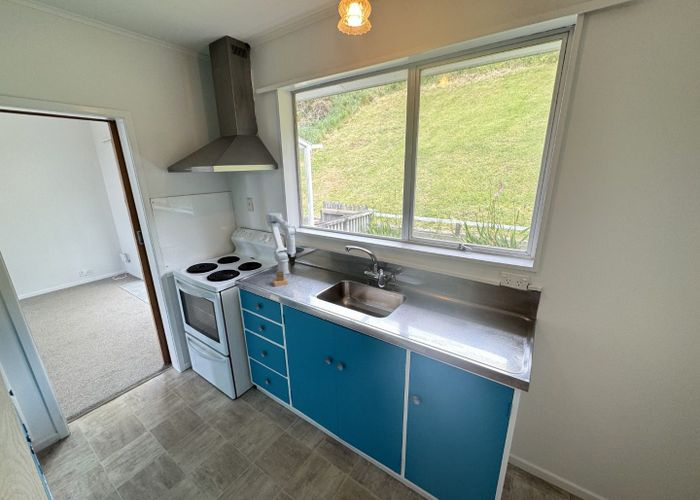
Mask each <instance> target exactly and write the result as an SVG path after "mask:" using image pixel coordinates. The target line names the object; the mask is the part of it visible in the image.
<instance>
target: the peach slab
mask: <svg viewBox="0 0 700 500" xmlns="http://www.w3.org/2000/svg"><path fill="white" fill-rule="evenodd" d="M271 282H272V285H273V286H274V287H275V288H276V287H277V286H278V287H282V285H283V286H287V285H289V284H288V280H287V278H286V277H285V276H284V281H277V279H276V277H275V278H272V279H271Z"/></svg>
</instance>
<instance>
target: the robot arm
mask: <svg viewBox="0 0 700 500" xmlns="http://www.w3.org/2000/svg"><path fill="white" fill-rule="evenodd" d="M265 216H266V217H265V219H266V222H267V225H268V227H270V229H271V233H272V234H271V235H272V236H273V240H274V243H275V247H276V249H275V250H274V252H273V254H274V255H273V256H274V260H275V261H276V262H277V270H276V272H277V271H283V275H288V274H290V270H289V264H290V266H291V267H294V266H295V264H296V261H297V260H296V259H297V258H298V257H297V255H295V254H296V253H297V250H296V238H295V237H296V234H297V229H296V227H295V226H293V225H290V223H289V222H288V221H287V220H284V219H283V215H282V213H281V212H271V213H269V212H268V213H267V214H266V215H265ZM279 226H280V229H282V231H283V234H284V239H285V243H286V246H285V247H284V243H283V241H282V237H281V233H280V230H279Z"/></svg>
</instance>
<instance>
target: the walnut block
mask: <svg viewBox="0 0 700 500" xmlns="http://www.w3.org/2000/svg"><path fill="white" fill-rule="evenodd" d="M284 275H285V274H283V271H277V270H276V271H275V276H276V277H275V278H276V279H277V281H284V277H285V276H284Z"/></svg>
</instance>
